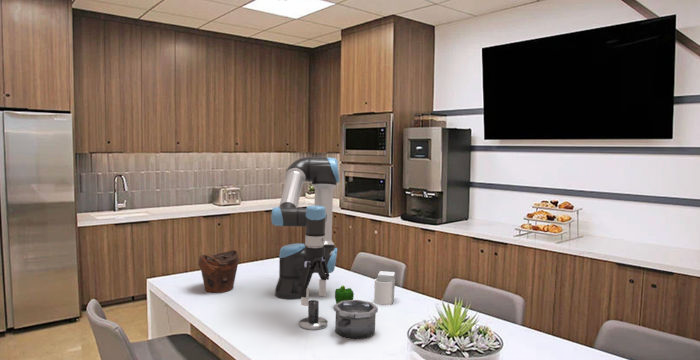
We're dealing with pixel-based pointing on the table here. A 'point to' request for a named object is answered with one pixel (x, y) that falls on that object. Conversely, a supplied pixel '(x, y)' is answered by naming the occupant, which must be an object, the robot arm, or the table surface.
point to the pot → (355, 319)
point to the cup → (383, 293)
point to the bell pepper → (343, 294)
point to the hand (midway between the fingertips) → (313, 300)
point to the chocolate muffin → (219, 271)
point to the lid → (313, 318)
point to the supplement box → (387, 280)
